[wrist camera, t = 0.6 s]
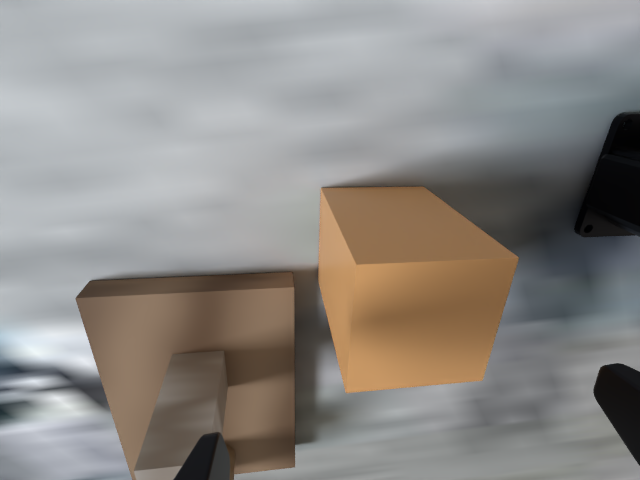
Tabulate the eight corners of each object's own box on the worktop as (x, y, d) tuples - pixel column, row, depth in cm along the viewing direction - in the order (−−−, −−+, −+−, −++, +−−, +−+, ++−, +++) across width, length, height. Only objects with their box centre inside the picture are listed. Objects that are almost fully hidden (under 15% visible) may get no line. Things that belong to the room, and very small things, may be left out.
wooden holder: (292, 271, 19) (306, 381, 12) (293, 445, 25) (303, 583, 18) (89, 280, 18) (-18, 409, 11) (141, 462, 24) (92, 617, 17)
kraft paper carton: (423, 186, 18) (518, 257, 11) (409, 275, 20) (482, 380, 13) (321, 187, 17) (356, 264, 11) (317, 280, 20) (345, 393, 13)
